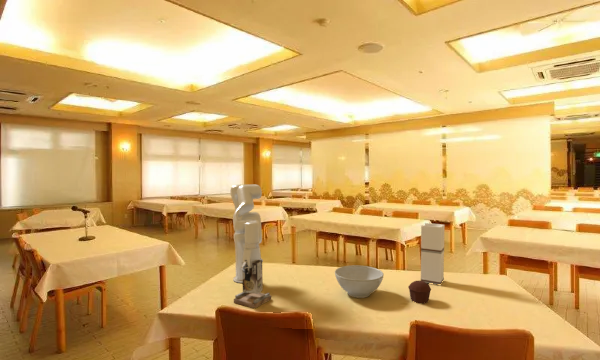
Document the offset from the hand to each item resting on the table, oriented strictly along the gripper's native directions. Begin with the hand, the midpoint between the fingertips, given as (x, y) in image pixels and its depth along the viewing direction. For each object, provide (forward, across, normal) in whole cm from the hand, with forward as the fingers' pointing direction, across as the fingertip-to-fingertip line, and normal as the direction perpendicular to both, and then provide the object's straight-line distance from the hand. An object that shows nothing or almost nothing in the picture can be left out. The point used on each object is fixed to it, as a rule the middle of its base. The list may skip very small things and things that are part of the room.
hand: (252, 278), depth 178 cm
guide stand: (+12, 0, 0) cm, 12 cm away
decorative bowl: (+12, -39, +44) cm, 60 cm away
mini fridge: (+12, -81, +75) cm, 111 cm away
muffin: (+13, -47, +75) cm, 89 cm away
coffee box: (+7, 0, 0) cm, 7 cm away
